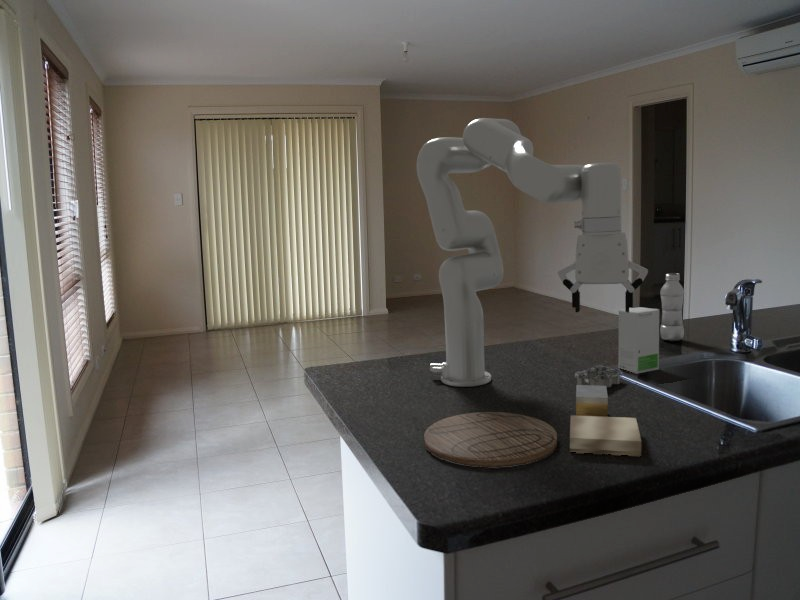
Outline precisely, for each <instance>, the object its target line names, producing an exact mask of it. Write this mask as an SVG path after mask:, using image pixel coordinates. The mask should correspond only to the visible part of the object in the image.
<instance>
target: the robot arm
mask: <svg viewBox="0 0 800 600" xmlns="http://www.w3.org/2000/svg"><path fill="white" fill-rule="evenodd" d="M533 154H534V145H533V142H532V141H531V140H530V139H529V138H527V137H525V136H523V135H522V133H521V130H520V128H519V127H518V125H517V124H516V123H515V122H513V121H512V120H509V119H507V118H491V117H488V118H487V117H481V118H477V119H474V120H472V121H471V122H469V123H468V124H467V125H466V126H465V128H464V129H463V133H462V137H454V136H453V137H451V136H450V137H449V136H448V137H445V136H444V137H437V138H432V139H431V140H428V141H427V142H425V143H424V144H423V145H422V147H421V148H420V150H419V152H418V155H417V159H416V174H417V178H418V183H419V184H420V187H421V191H422V192H423V194H424V197H425V201H426V204H427V208H428V214H429V217H430V221H431V225H432V230H433V234H434V237H435V241H436V243H437V245H438V246H439V248H440V249H442V250H444V251H446V252H448V251H450V252H452V251H454V252H455V251H461V250H467V251H468V253H465V254H463V253H462V254H458V255H453V256H450V257H449V258H447V259H445V260H444V261H443V262H442V264H441V265H440V267H439V270H438V281H439V285H440V290H441V294H442V295H441V296H442V301H443V308H444V309H443V311H444V313H443V315H444V329H445V330H444V331H445V333H444V334H445V337H444V338H445V359H446V361H443V362H442V363H437V362H436V363H435V362H433V363H432V362H431V363H430V365H429V370H430V371H431V372H433V373H437V374H438V373H441V376H440V381H441V382H442V383H443V384H444V385H447V386H451V387H459V388H460V387H461V388H462V387H463V388H465V387H467V388H469V387H478V386H483V385H486V384H488V383H490V382H491V380H492V375H491V373H490V372H488V371H486V370H485V369H486V368H485V335H484V333H485V332H484V331H485V330H484V311H483V306H482V303H481V300H480V298H479V297H478V295H477V292H480V291H484V290H485V291H486V290H489V289H493V288H496V287H497V286H498V285H499V284H501V282H502V280H503V277H504V262H503V258H502V254H501V250H500V246H499V242H498V237H497V235H496V231H495V227H494V224H493V222H492V221H491V218H490V217H489V216H488V215H487V213H484V212H483V211H481V210H474V209H473V210H466V209H465V207H464V204H463V203H464V202H463V200H462V195H461V193H460V190H459V188H458V186H457V185H456V184H455V182H454V181H453V180H452V179H451V178H450V176H449V174H471V173H477V172H479V171H482V170H484V169H487V168H489V167H491V166H494V167H496V168H498V169H499V170H501V171H503V172H504V173H506V174H507V177H508V179H509V181H510V182H511V184H512V185H513V186H514V187H515V188H516V189H517V190H519V191H521V192H522V193H524V194H526V195H528V196H530V197H532V199H533V198H534V199H535V200H536V201H537V200H538V201H540V202H543V203H546V204H555V203H575V202H581V219H580V220H577V221H574V223H573V224H574V226H573V227H574V229H578V230H580V231H581V233H578V235H577V238H576V239H577V240H576V244H575V245H576V246H575V260H574V261H575V262H573V263H571V264H569V265H567V266H565V267H562V268H561V269H559V270H557V275H558V277H559V279H560V280H561V282H562V285H563V286H565V287H566V288H567V289H568V291H570V293H571V305H572V306H571V307H572V308H574V309H575V313H579V312H580V311H581V292H580V291H579V290H580V287H581V286H582V285H620V284H621V285H622V286H623V287H624V288H625V289H626V291H625V292H624V293H625V294H624V295H625V296H624V297H625V303H624V304H625V308H624V309H625V312H628V313H629V308H634V292H635V291H636V290H637V289H638V288H639V287H640V286H641V285H642V284H643V282H644V280H645V279H646V277H647V275H648V273H649V270H648V268H645V267H644V266H641V265H639V264H638V263H635V262H633V261H631V260H629V249H628V248H629V247H628V240H627V239H628V238H627V235H626V232H624V231H623V232H622V169H621V166H620V165H619V164H618V163H616V162H598V163H597V162H595V163H589V164H583V165H582V164H550V163H547V162H545V161H543V160H541V159H539V158H537V157H536V156H534V155H533ZM574 270H575V271H574ZM630 270H633V271H635V272H636V273H638V276H637V277H636V278H635V280H633V281H632V282H631V281H630V280H629V275H630ZM572 271H574V273H575V274H574V277H575V278H574V279H575V282H574V283H573V282H572V281H571V280H570V279H569V278H568V275H567V274H568V273H570V272H572Z"/></svg>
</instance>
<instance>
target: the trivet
mask: <svg viewBox="0 0 800 600" xmlns="http://www.w3.org/2000/svg"><path fill="white" fill-rule="evenodd" d="M423 441H425V443H424V448H425V447H426V448H427V449H428V450H429V451H430V452H431V453H433V454H435V455H436V456H438V457H440V458H443V459H446V460H449V461H452V462H455V463H460V464H464V465H470V466H478V467H480V466H482V467H502V466H513V465H519V464H526V463H529V462H533V461H536V460H540V459H543V458H544V457H546V456H548V455H549V454H551V455H552V454H553V453H554V452H555V451H556V450H557V448H558V432H557V431H556V430H555V428H554V426H551V425H550V424H549V423H547V422H546V421H543V420H542V419H541V420H540V419H539V418H536V417H532V416H528V415H523V414H519V413H513V412H505V411H504V412H503V411H502V412H501V411H484V412H479V411H478V412H470V413H469V412H467V413H462V414H457V415H452V416H449V417H444V418H443V419H440V420H438V421H435V422H434V423H432V424H431V425H430V426H428V427H427V428H426V429H425V432H424V434H423ZM556 447H557V448H556ZM426 448H425V449H426ZM554 450H555V451H554ZM553 451H554V452H553ZM552 452H553V453H552ZM549 456H550V455H549ZM549 456H548V457H549ZM546 458H547V457H546ZM544 459H545V458H544ZM544 459H543V460H544ZM540 461H541V460H540Z"/></svg>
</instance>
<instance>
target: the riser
mask: <svg viewBox="0 0 800 600" xmlns="http://www.w3.org/2000/svg"><path fill="white" fill-rule="evenodd" d="M569 423H570V425H569V453H570V452H576V453H575V454H584V453H593V454H592V455H602V454H605V455H606V454H607V455H608V454H611V455H610V456H621V455H628V457H640V456H641V457H642V437H641V434H640V433H641V432H640V430H639V424H638V422H637V417H625V416H623V417H620V416H608V417H600V416H576V414H575V415H572V414H570V421H569ZM607 455H606V456H607ZM608 456H609V455H608Z"/></svg>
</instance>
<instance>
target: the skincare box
mask: <svg viewBox="0 0 800 600" xmlns="http://www.w3.org/2000/svg"><path fill="white" fill-rule="evenodd" d="M659 360H660V309H658V308H649V307H644V306H643V307H641V306H639V307H633V308H629V313H628V312H625V308H623V309H622V308H621V309H618V367H617V369H618V368H621V369H624V370H627V371H630V372H629V373H631V372H632V373H631V374H636V375H638V374H642V373H646V372H653V371H657V370H659V368H660V363H659V362H660V361H659ZM627 371H626V372H627Z"/></svg>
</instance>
